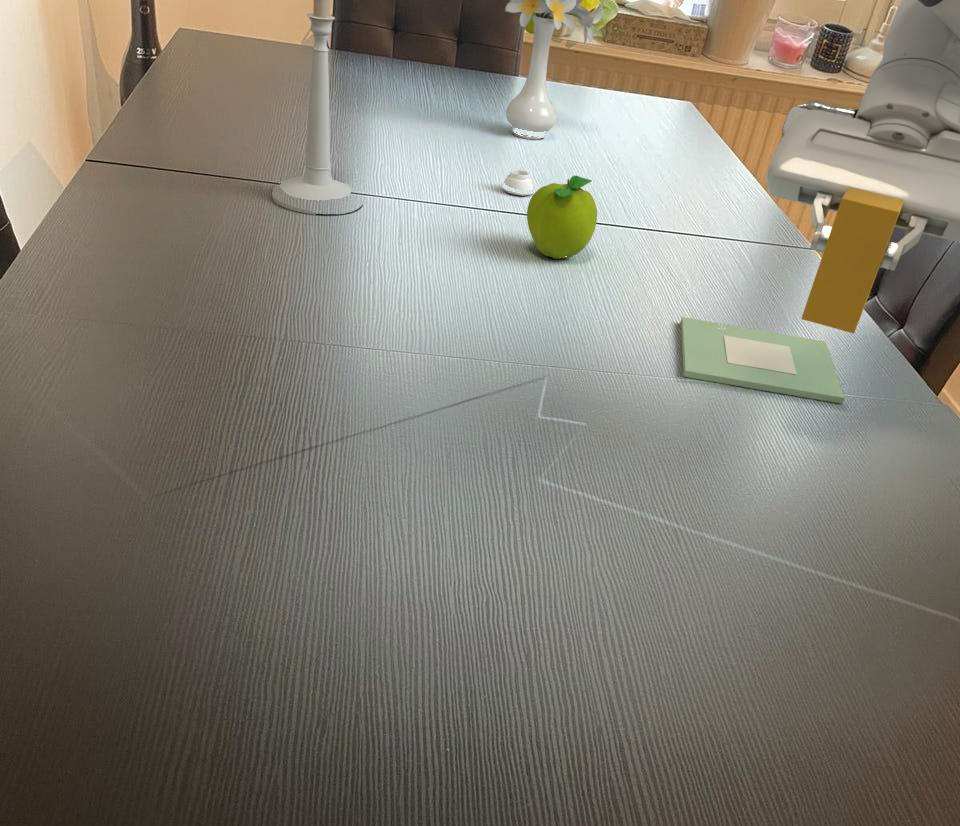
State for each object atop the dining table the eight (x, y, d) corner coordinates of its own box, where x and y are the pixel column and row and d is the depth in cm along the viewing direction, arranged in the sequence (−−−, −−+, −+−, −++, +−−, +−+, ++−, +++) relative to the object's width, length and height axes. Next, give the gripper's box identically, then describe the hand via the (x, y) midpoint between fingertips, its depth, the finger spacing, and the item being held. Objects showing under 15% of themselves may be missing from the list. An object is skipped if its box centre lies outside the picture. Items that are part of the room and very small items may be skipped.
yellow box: (809, 303, 99) (849, 185, 92) (860, 316, 98) (905, 198, 91) (801, 319, 96) (841, 197, 89) (853, 333, 95) (899, 211, 88)
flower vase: (579, 152, 184) (607, -10, 168) (479, 135, 184) (497, -28, 169) (583, 135, 194) (609, -19, 178) (487, 119, 194) (506, -36, 179)
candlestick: (254, 191, 145) (249, -61, 126) (327, 182, 153) (333, -58, 134) (306, 220, 139) (309, -42, 120) (380, 209, 146) (394, -39, 127)
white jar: (538, 192, 162) (509, 185, 163) (541, 173, 160) (512, 165, 161) (525, 199, 158) (496, 191, 160) (528, 179, 156) (499, 171, 158)
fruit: (600, 257, 142) (615, 181, 136) (567, 273, 136) (581, 194, 129) (544, 238, 145) (556, 163, 139) (509, 252, 139) (520, 175, 132)
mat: (823, 347, 126) (826, 340, 126) (842, 404, 114) (845, 397, 113) (680, 322, 127) (682, 315, 126) (683, 377, 114) (685, 369, 114)
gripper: (797, 73, 93) (744, 209, 92) (1029, 124, 88) (976, 268, 87) (790, 118, 99) (740, 246, 98) (1007, 168, 94) (957, 302, 93)
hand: (853, 257), depth 93 cm, fingers closed on yellow box, 5 cm apart
